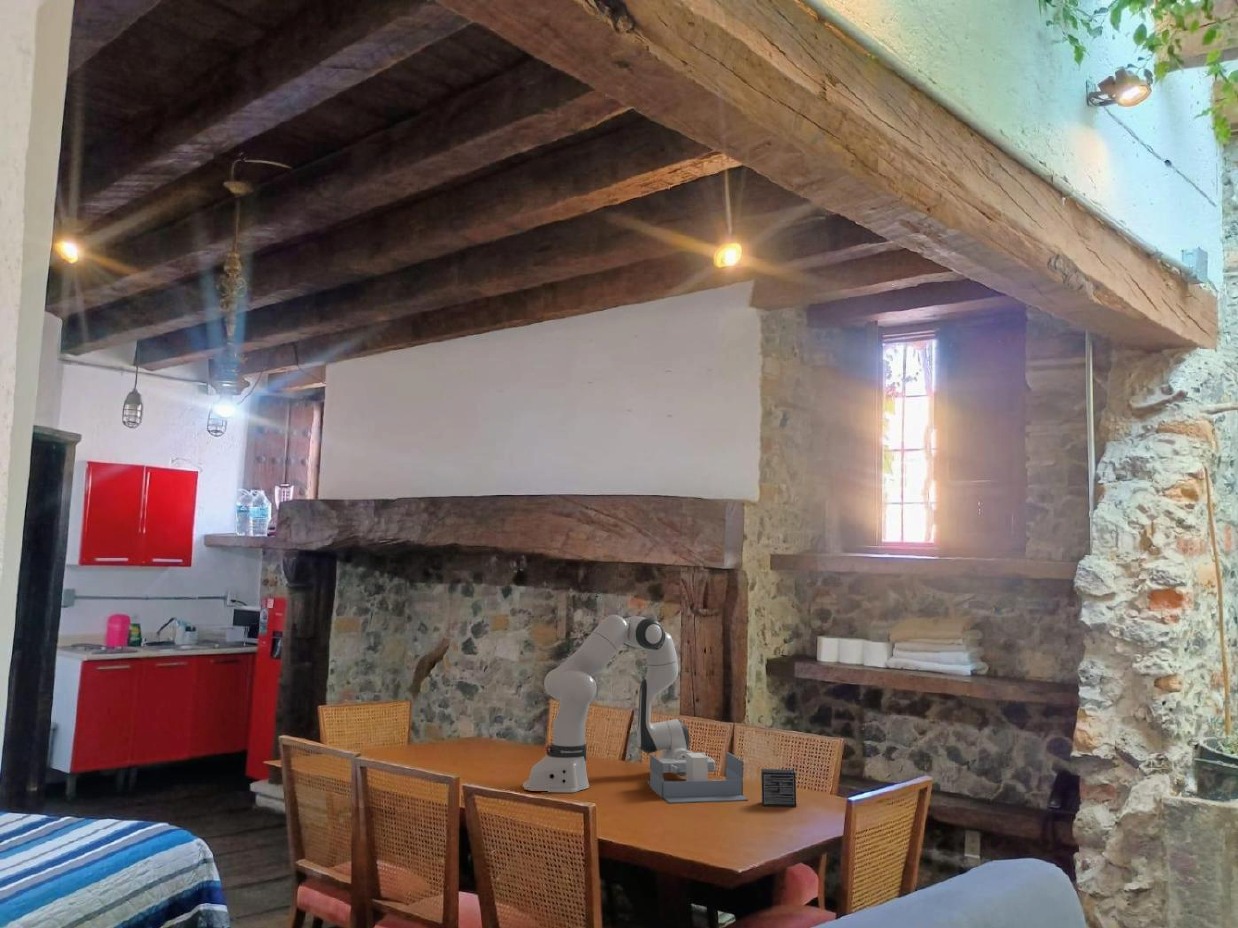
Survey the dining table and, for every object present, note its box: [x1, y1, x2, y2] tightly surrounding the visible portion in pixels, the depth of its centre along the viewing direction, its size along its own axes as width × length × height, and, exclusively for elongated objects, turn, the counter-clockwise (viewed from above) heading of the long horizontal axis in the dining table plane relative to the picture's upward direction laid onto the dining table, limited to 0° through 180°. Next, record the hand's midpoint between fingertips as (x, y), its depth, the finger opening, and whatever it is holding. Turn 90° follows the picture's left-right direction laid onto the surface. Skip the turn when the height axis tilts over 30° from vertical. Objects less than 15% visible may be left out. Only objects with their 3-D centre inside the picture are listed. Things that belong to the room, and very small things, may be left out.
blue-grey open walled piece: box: [646, 751, 749, 804], centre depth 322 cm, size 28×32×11 cm
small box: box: [760, 768, 798, 808], centre depth 303 cm, size 11×6×10 cm, turn 84°
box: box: [685, 752, 709, 781], centre depth 320 cm, size 5×9×12 cm, turn 11°
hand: (691, 769), depth 326 cm, fingers open, 8 cm apart
